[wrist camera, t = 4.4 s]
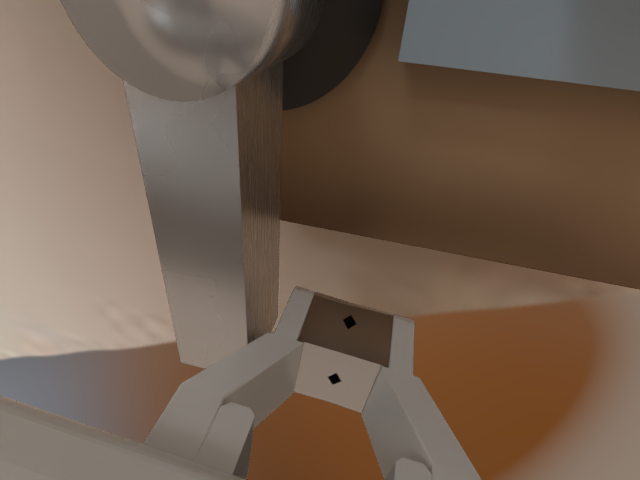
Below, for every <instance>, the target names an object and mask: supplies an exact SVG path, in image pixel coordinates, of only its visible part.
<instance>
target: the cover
mask: <svg viewBox="0 0 640 480" xmlns="http://www.w3.org/2000/svg"><path fill="white" fill-rule="evenodd" d="M398 61H401V62H409V63H417V64H425V65H433V66H441V67H449V68H457V69H465V70H473V71H481V72H489V73H497V74H505V75H513V76H521V77H530V78H538V79H546V80H554V81H562V82H570V83H578V84H586V85H594V86H602V87H610V88H618V89H626V90H634V91H640V0H409V3H408V9H407V14H406V20H405V25H404V31H403V37H402V42H401V48H400V53H399V59H398Z"/></svg>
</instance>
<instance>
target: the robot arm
mask: <svg viewBox="0 0 640 480" xmlns="http://www.w3.org/2000/svg"><path fill="white" fill-rule="evenodd" d="M414 329H415V323H414V321H413V319H409V318H405V317H402V316H398V315H394V314H393V315H392V314H390V313H386V312H383V311H379V310H376V309H372V308H368V307H365V306H361V305H357V304H354V303H350V302H347V301H344V300H340V299H337V298H334V297H331V296H328V295H324V294H321V293H318V292H313V291H310V290H307V289H304V288H301V287H297V286H296V287H295V288H294V290H293V292H292V294H291V296H290V298H289V301H288V303H287V305H286V308H285V310H284V312H283V314H282V317H281V319H280V321H279V323H278V326H277V328H276V330H275V333H274V334H273V333H269V332H268V333H266V334H264V335H262V336H261V337H259V338H257V339H256V340H254V341H252V342H251V343H249V344H247V345H245V346H244V347H242V348H240V349H239V350H237V351H235V352H234V353H232V354H230V355H229V356H227V357H225V358H223V359H222V360H220V361H218V362H217V363H215V364H213V365H212V366H210V367H208V368H207V369H205V370H203V371H201V372H200V373H198V374H196V375H195V376H193V377H192V378H190V379H188V380H186V381H185V382H183V383H181V384H180V386H179V388H178V389H177V391H176V392H175V394H174V396H173V397H172V399H171V400H170V402H169V404H168V405H167V407H166V408H165V410H164V412H163V413H162V415H161V417H160V418H159V420H158V421H157V423H156V424H155V426H154V428H153V429H152V431H151V433H150V434H149V436H148V437H147V439H146V440H145V442H144V444H141V443H138V442H135V441H133V440H130V439H127V438H124V437H121V436H118V435H115V434H112V433H109V432H106V431H103V430H100V429H97V428H94V427H92V426H89V425H86V424H82V423H80V422H77V421H74V420H71V419H68V418H65V417H62V416H59V415H56V414H53V413H50V412H47V411H45V410H42V409H39V408H36V407H33V406H30V405H27V404H24V403H21V402H18V401H15V400H12V399H9V398H6V397H3V396H0V480H247V479H246V477H247V474H248V468H249V460H250V452H251V444H252V435H253V429H254V428H255V427H256V426H257V425H258V424H259V423H261V422H262V421H263V420H264V419H265V418H266V417H267V416H268V415H270V414H271V413H272V412H273V411H274V410H275V409H276V408H277V407H279V406H280V405H281V404H282V403H283V402H284V401H285V400H287V399H288V398H289V397H290V396H291V395H292V394H293V392H296V393H300V394H304V395H307V396H310V397H314V398H317V399H321V400H324V401H328V402H331V403H333V404H336V405H340V406H342V407H345V408H348V409H351V410H354V411H357V412H360V413H362V414H361V416H362V418H363V421H364V424H365V427H366V429H367V432H368V436H369V438H370V441H371V444H372V447H373V450H374V452H375V455H376V458H377V461H378V464H379V467H380V469H381V472H382V475H383V478H384V480H481V478H480V476H479V475H478V473H477V471H476V470H475V468H474V466H473V465H472V463H471V461H470V460H469V458H468V457H467V455H466V453H465V452H464V450H463V448H462V447H461V445H460V443H459V442H458V440H457V438H456V437H455V435H454V433H453V432H452V430H451V429H450V427H449V425H448V424H447V422H446V420H445V419H444V417H443V416H442V414H441V412H440V410H439V409H438V407H437V406H436V404H435V402H434V401H433V399H432V397H431V396H430V394H429V392H428V391H427V389H426V388H425V386H424V384H423V383H422V381H421V379H420V378H419V377H416V376H413V367H414Z"/></svg>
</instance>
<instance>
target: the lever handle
mask: <svg viewBox="0 0 640 480" xmlns="http://www.w3.org/2000/svg"><path fill="white" fill-rule="evenodd" d="M61 2H62V4H63V6H64V8H65V10H66V12H67V14H68V16H69V18H70V20H71V21H72V23H73V25H74V26H75V28H76V30H77V31H78V33H79V34H80V35H81V37H82V38H83V40H84V41H85V42H86V44H87V45H88V46H89V48H90V49H91V50H92V51H93V52H94V53H95V55H96V56H97V57H98V58H99V59H100V60H101V61H102V62H103V63H104V64H105V65H106V66H107V67H108V68H109V69H110V70H111V71H113V72H114V73H115V74H116V75H117V76H119V77H120V78H121V79H122V80H123V82H124V87H125V92H126V97H127V102H128V107H129V112H130V117H131V121H132V126H133V131H134V136H135V141H136V146H137V151H138V156H139V160H140V165H141V170H142V175H143V180H144V185H145V190H146V195H147V199H148V204H149V209H150V214H151V219H152V224H153V229H154V234H155V238H156V243H157V248H158V253H159V258H160V263H161V268H162V273H163V277H164V282H165V287H166V292H167V297H168V302H169V307H170V312H171V316H172V321H173V326H174V331H175V336H176V341H177V345H178V351H179V355H180V360H181V362H182V363H186V364H189V365H193V366H197V367H201V368H205V369H207V368H208V367H210V366H212V365H213V364H215V363H217V362H218V361H220V360H222V359H223V358H225V357H227V356H229V355H230V354H232V353H234V352H235V351H237V350H239V349H240V348H242V347H244V346H245V345H247V344H249V343H251V342H252V341H254V340H256V339H257V338H259V337H261V336H262V335H264V334H266V333H268V332H269V333H271V330H272V328H273V326H274V324H275V321H276V319H277V317H278V286H279V239H280V193H281V146H282V100H283V61H285V60H287V59H288V58H290V57H291V56H293V55H294V54H295V53H297V52H298V51H299V50H300V49H301V48H302V47H303V46H304V45H305V44H306V43H307V41H308V40H309V38H310V37H311V35H312V34H313V32H314V30H315V28H316V27H317V25H318V22H319V20H320V17H321V14H322V11H323V7H324V3H325V0H61Z"/></svg>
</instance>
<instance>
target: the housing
mask: <svg viewBox="0 0 640 480" xmlns="http://www.w3.org/2000/svg"><path fill="white" fill-rule="evenodd" d="M408 3H409V0H325V3H324V7H323V11H322V14H321V17H320V20H319V22H318V25H317V27H316V28H315V30H314V32H313V34H312V35H311V37H310V38H309V40H308V41H307V43H306V44H305V45H304V46H303V47H302V48H301V49H300V50H299V51H298V52H297V53H295V54H294V55H293V56H291V57H290V58H288V59H287V60H285V61H283V100H282V146H281V193H280V220H283V221H288V222H293V223H298V224H303V225H309V226H314V227H319V228H324V229H329V230H334V231H340V232H345V233H350V234H355V235H360V236H366V237H371V238H376V239H381V240H386V241H391V242H397V243H402V244H407V245H412V246H417V247H422V248H428V249H433V250H438V251H443V252H448V253H454V254H459V255H464V256H469V257H474V258H479V259H485V260H490V261H495V262H500V263H505V264H510V265H516V266H521V267H526V268H531V269H536V270H542V271H547V272H552V273H557V274H562V275H567V276H573V277H578V278H583V279H588V280H593V281H598V282H604V283H609V284H614V285H619V286H624V287H629V288H635V289H640V91H634V90H626V89H618V88H610V87H602V86H594V85H586V84H578V83H570V82H562V81H554V80H546V79H538V78H530V77H521V76H513V75H505V74H497V73H489V72H481V71H473V70H465V69H457V68H449V67H441V66H433V65H425V64H417V63H409V62H401V61H398V59H399V53H400V48H401V42H402V37H403V31H404V25H405V20H406V14H407V9H408Z"/></svg>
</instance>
